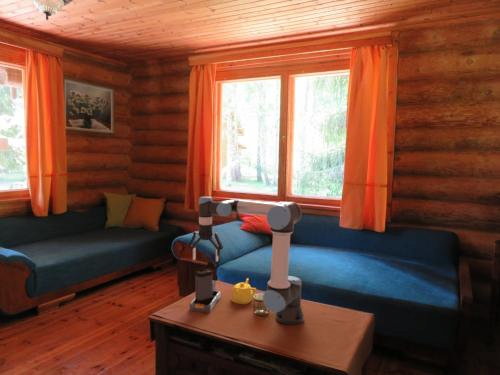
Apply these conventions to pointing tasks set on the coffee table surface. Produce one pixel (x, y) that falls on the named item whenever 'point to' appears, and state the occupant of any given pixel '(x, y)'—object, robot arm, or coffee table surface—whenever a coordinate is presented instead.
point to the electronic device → (203, 287)
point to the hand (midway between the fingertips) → (205, 260)
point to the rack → (208, 308)
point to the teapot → (242, 293)
